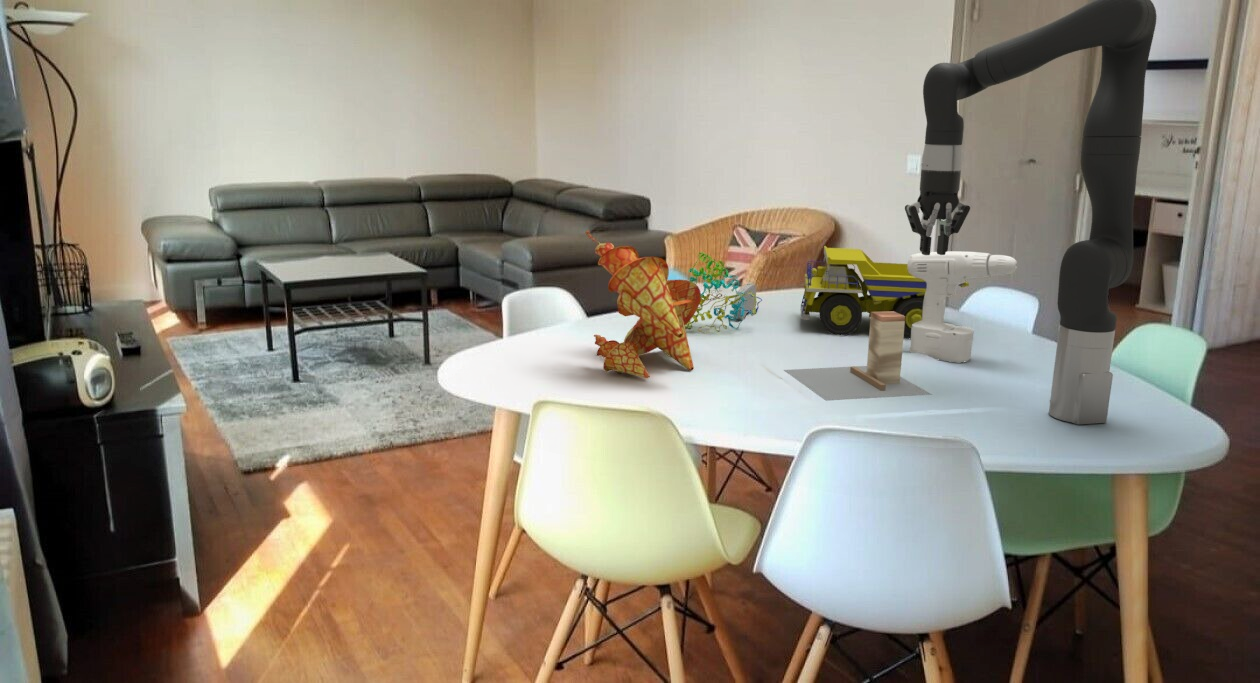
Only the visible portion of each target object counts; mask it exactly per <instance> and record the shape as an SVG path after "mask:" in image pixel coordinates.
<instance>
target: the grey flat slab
mask: <svg viewBox="0 0 1260 683" xmlns="http://www.w3.org/2000/svg"><path fill="white" fill-rule="evenodd" d="M737 293H739V294H740V293H744V294H746V293H749V294H751V293H752V294H754V295H755V296H756V298H755V299H756V300H757V287H756V284H755V283H753V282H751V281H750V282H746V284H744V285H743V286H741V287H740V288H739V289H738V290H737ZM737 293H736V292H735V295H738V294H737ZM749 294H748V295H745V296H744V297H743V298H744V300H745V299H747V301H744V310H749V311H751V312H752V310H753V308H754V307H755V299H754V297H752V296H751V295H749ZM739 297H741V296H737V297H734V300H736V299H738V298H739ZM734 300H733V301H734ZM738 301H739V300H738ZM738 301H737V302H736V303H735V304H736V305H737V304H738ZM741 301H742V300H741V299H740V301H739V303H740V302H741ZM740 307H742V308H743V301H742V304H741V306H740ZM740 307H739V310H738V313H737V319H736V320H735V321H741V320H742V321H743V320H745V318H746V315H747V314H748V313H749V312H748V311H744V315H743V317H741V316H740V315H741V312H742V308H740ZM733 310H734V311H735V308H733ZM753 311H754V310H753ZM734 315H735V314H734ZM734 315H733V316H734ZM735 318H736V315H735V316H734V317H733V319H735Z"/></svg>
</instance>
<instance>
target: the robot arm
mask: <svg viewBox="0 0 1260 683" xmlns="http://www.w3.org/2000/svg"><path fill="white" fill-rule="evenodd" d="M1156 24H1157V10H1156V7H1155V5H1154V2H1153V1H1152V0H1092V1H1090V2H1088V3H1086V4H1085V5H1083V6H1082V7H1079V8H1078V9H1076V10H1074V11H1072V12H1070V13H1068V14H1066V15H1064V16H1062V17H1061V18H1058V19H1057V20H1054V21H1053V22H1050V23H1048V24H1046V25H1043V26H1042V27H1039V28H1036V29H1033V30H1031V31H1028V32H1025V33H1023V34H1021V35H1018V36H1015V37H1012V38H1010V39H1007V40H1004V41H1002V42H999V43H997V44H993V45H992V46H989V47H986V48H984V49H982V50H980V51H979V52H977V53H976V54H975V55H974V56H973V57H971V58H968V59H967V60H964V61H961V62H957V63H954V62H953V63H952V62H939V63H936V64H934V65H933V66H931V67H930V68H929V70H928V71H927V73H926V74H925V77H924V80H923V86H922V88H923V89H922V94H923V95H922V96H923V106H924V113H925V118H926V128H925V136H924V139H925V140H924V147H923V151H922V157H921V165H920V166H921V168H920V170H921V171H920V178H919V179H920V182H919V192H920V193H919V196H918V198H917V201H916V202H914V203H912V204H906V205H905V206H904V210H905V214H906V216H907V220H908V223H909V226H910V228H911V229H910V230H911V232H912V233H915V234H918V235H920V239H919V252H920V253H922V254H923V255H930V252H931V247H932V233H933V230H934V229H933V227H934V226H935V225H936V221H937V224H938V233H939V235H938V236H937V245H936V252H937V254H939V255H945V253H946V252H947V251H948V250H949V242H950V236H951V235H953V234H958V233H959V232H960V230H961V228H962V225H963V224H964V223H965V220H966V219H967V216H968V215H969V212H970V211H971V206H970V205H967V204H963V203H962V202H960V199H959V196H958V194H959V191H960V187H961V186H960V185H961V184H960V183H961V174H962V173H961V172H962V165H963V164H962V162H963V139H964V128H965V127H964V125H965V121H964V117H963V116H961V115H960V114H959V113H958V101H961V100H964V99H967V98H969V97H971V96H974V95H976V94H978V93H980V92H982V91H984V90H986V89H988V88H989V87H992V86H996V85H1000V84H1003V83H1005V82H1008V81H1010V80H1011V81H1012V80H1013V79H1016V78H1019V77H1021V76H1024V75H1027V74H1029V73H1031V72H1033V71H1035V70H1037V69H1039V68H1040V67H1042V66H1044V65H1046V64H1048V63H1049V62H1052V61H1054V60H1055V59H1059V58H1061V57H1063V56H1066V55H1068V54H1072V53H1074V52H1079V51H1082V50H1087V49H1092V48H1097V47H1101V66H1100V76H1099V82H1098V85H1097V87H1096V91H1095V94H1094V96H1093V98H1092V102H1091V104H1090V105H1089V109H1088V113H1087V114H1086V118H1085V122H1084V126H1083V131H1082V138H1081V139H1082V140H1081V151H1080V169H1081V173H1082V178H1083V181H1084V185H1085V187H1086V190H1087V191H1086V192H1087V194H1088V197H1089V201H1090V204H1091V225H1090V232H1089V239H1086V240H1081V241H1078V242H1075V243H1073V244H1071V245H1070V246H1069V247H1068V248H1067V249H1066V251H1065V253H1064V254H1063V256H1062V259H1061V263H1060V267H1059V276H1058V278H1059V279H1058V288H1057V289H1058V290H1057V291H1058V292H1057V309H1058V312H1059V313H1058V314H1059V316H1060V320H1059V327H1058V333H1057V334H1058V335H1057V341H1056V350H1055V357H1054V358H1055V359H1054V367H1053V373H1052V382H1051V388H1050V389H1051V390H1050V400H1049V407H1048V414H1049V415H1050V416H1051V417H1052V418H1055V419H1058V420H1059V421H1060V420H1061V421H1064V422H1067V423H1073V424H1075V425H1077V426H1078V425H1091V424H1107V419H1108V414H1109V413H1108V412H1109V406H1110V400H1111V399H1110V397H1111V390H1112V384H1113V377H1114V374H1113V372H1111V371H1110V368H1111V363H1112V356H1113V355H1112V354H1113V347H1114V341H1115V334H1116V328H1117V321H1118V320H1117V319H1118V318H1117V315H1116V313H1115V312H1114V311H1112V310H1110V309H1109V306H1108V302H1109V301H1108V300H1109V290H1110V289H1113V288H1117V287H1119V286H1121V285H1122V284H1123V283H1125V282H1126V280H1127V279H1128V278H1129V277H1130V275H1131V272H1132V269H1133V264H1134V207H1135V205H1134V203H1135V198H1136V187H1137V186H1136V185H1137V176H1138V175H1137V172H1138V165H1139V159H1140V155H1141V154H1140V151H1141V143H1142V142H1141V141H1142V134H1143V133H1142V128H1143V126H1142V125H1143V114H1144V103H1145V84H1146V81H1145V80H1146V73H1147V68H1148V61H1149V58H1150V57H1149V56H1150V54H1151V53H1150V52H1151V49H1152V44H1153V39H1154V34H1155V31H1156ZM920 211H921V213H922V216H921V218H920V216H919V213H920ZM953 212H955V213H954V215H953V217H952V214H953Z"/></svg>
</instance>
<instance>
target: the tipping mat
mask: <svg viewBox="0 0 1260 683" xmlns="http://www.w3.org/2000/svg"><path fill="white" fill-rule="evenodd" d="M783 371H784V372H785V373H786V374H788V375H790V376H791V377H792V378H794V379H795V380H796V381H798V382H799V383H801V384H802V385H803V386H805V387H806V388H808V389H809V390H811V391H812V392H813V393H815V394H816V395H817V396H819V397H820V398H822V399H823V400H825V401H840V400H841V401H842V400H857V399H858V400H860V399H861V400H862V399H876V398H877V399H878V398H893V397H911V396H927V395H928V396H929V395H932V393H931V392H929V391H927V390H925V389H923V388H921V386H918V385H917V384H915V383H914V382H911V381H909V380H907V379H906V378H904V377H902V376H900V383H887V384H884V383H882V382H880V381H879V380H877V379H875V378H874V377H872V376H870V375H869V374H867V365H857V366H837V367H834V366H833V367H815V368H814V367H813V368H795V369H783Z"/></svg>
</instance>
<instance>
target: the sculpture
mask: <svg viewBox="0 0 1260 683" xmlns="http://www.w3.org/2000/svg"><path fill="white" fill-rule="evenodd" d="M585 234H586V235H587V237H588V238H589V239H591V241H592V242H596V239H595V238H593V237H592V234H590V231H589V230H586V231H585ZM598 243H599V244H598ZM594 253H595V254H596V255H598V256H599V258H598V259H599V260H598V261H597V265H598V266H602V268H603V269H605V270H606V271H607V272H608V273H609V274H610V275H612V276H611V277H610V279H609V282H608V285H607V286H608V287H607V289H608V290H607V291H608V292H610V293H614V292H616V293H617V294H618V297H617V299H616V303H617V304H616V305H617V310H618V314H620V315H622V316H623V317H628V316H629V317H630V316H635V317H638V318H639V319H637V321H636V323H635V324H634V326H632V328H631V329H630V330H629V331H628V332H627V333H626V335H625V338H624V339H623V342H620V343H619V341H617V340H613V339H611V340H607V338H606V337H604V336H601V335H600V334H594V335H593V337H594V339H595V341H594V345H596V346H598V349H597V350H596V356H597V357H599V356H601V357H603V358H604V361H603V370H604V371H605V372H607V373H608V372H611V371H615V372H617V373H618V374H622V373H623V374H628V375H632V376H636V377H639V378H640V377H641V378H644V379H649V378H651V376H650V374H649V372H648V370H647V368H646V367H645V365H644V364H643V362H642V360H641V358H640V357H639V356H642V355H645V354H647V353H650V352H651V351H653V350H655V349H657V348H658V349H659V350H660V351H661V352H663V353H664V354H666V355H667V356H669V357H670V358H672V359H673V360H674V361H676V362H677V363H679V364H680V365H681V366H682V367H684V368H685V369H687V370H688V371H690V372H691V371H693V370H695V369H694V368H695V367H694V362H693V358H692V353H691V349H690V343H689V340H688V336H687V335H688V334H687V330H686V329H685V328H686V326H687V325H686V324H687V323H688V322H689V321H690V322H691V320H692V318H693V315H695V313H697V311H696V310H697V308H698V307H700V306H699V303H700V299H701V294H702V293H701V289H700V287H699V286H698V285H697V284H696V282H694V281H693V282H691V281H690V280H687V279H668V278H669V273H670V272H669V271H670V269H669V265H668V262H667V261H666V260H664V259H663V258H661V257H658V256H644V257H639V253H638V251H637V249H635V248H634V247H633V246H630V245H619V246H614V244H613V243H611V242H603V243H600V241H598V240H597V243H596V246H595V248H594ZM698 309H699V308H698ZM690 319H691V320H690Z"/></svg>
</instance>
